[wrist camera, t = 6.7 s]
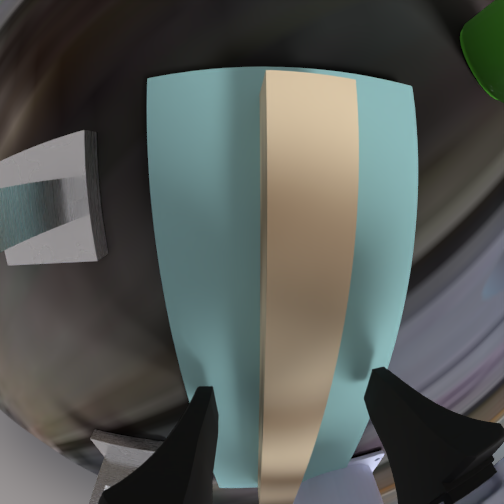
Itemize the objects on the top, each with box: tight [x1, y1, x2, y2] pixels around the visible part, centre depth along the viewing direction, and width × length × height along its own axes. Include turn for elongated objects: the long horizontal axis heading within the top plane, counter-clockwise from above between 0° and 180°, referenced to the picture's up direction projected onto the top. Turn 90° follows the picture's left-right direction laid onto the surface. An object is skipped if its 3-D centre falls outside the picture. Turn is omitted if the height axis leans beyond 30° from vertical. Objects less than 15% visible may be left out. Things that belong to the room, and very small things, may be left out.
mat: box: [147, 67, 418, 488], centre depth 12 cm, size 26×10×1 cm, turn 2°
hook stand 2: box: [89, 429, 164, 504], centre depth 12 cm, size 5×6×6 cm
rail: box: [258, 70, 359, 504], centre depth 10 cm, size 24×2×2 cm, turn 1°
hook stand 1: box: [0, 130, 108, 265], centre depth 6 cm, size 5×6×6 cm
